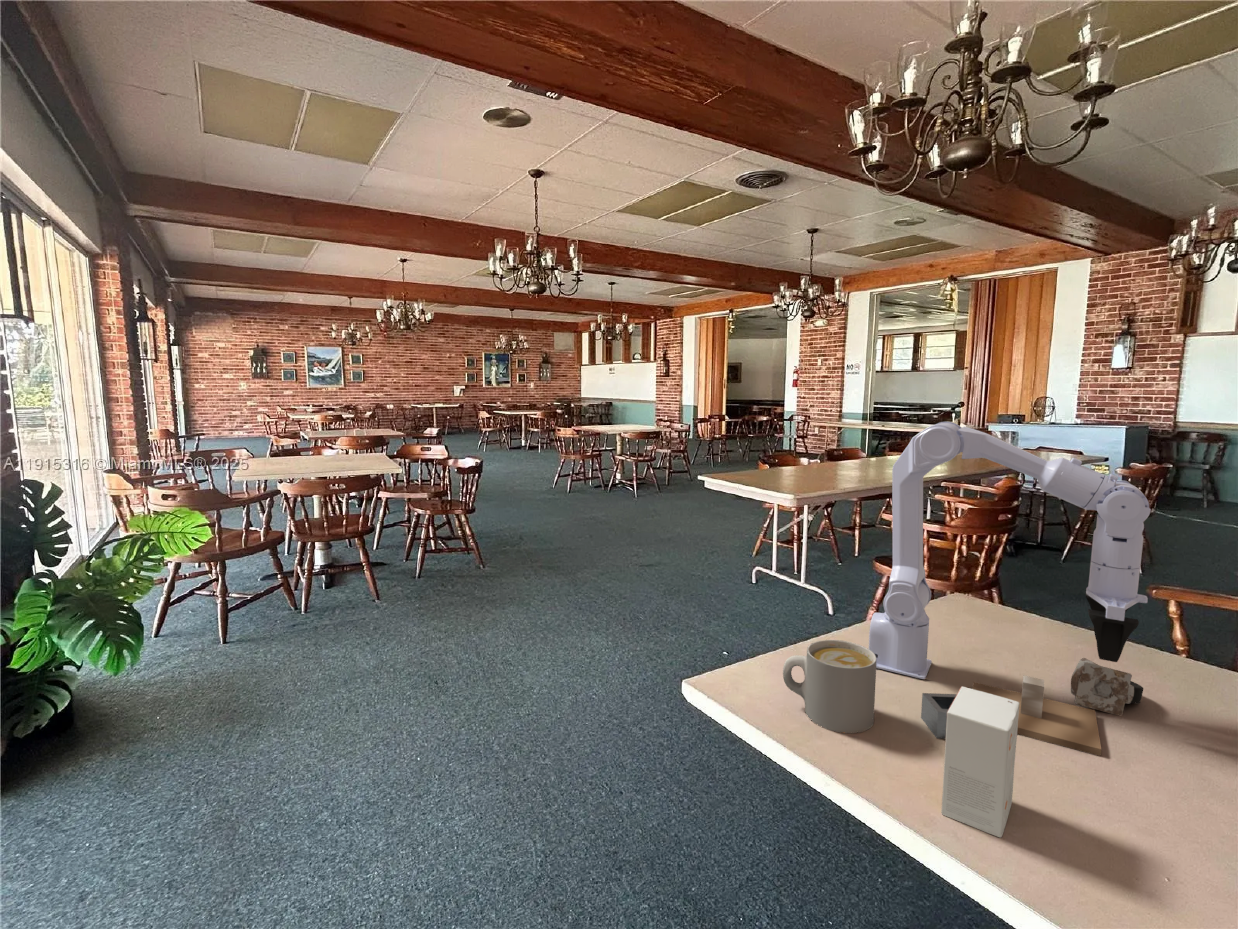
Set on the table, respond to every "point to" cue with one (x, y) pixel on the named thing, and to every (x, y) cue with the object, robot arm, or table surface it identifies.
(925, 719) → the square hub
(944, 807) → the small box
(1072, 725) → the post board
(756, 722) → the table surface
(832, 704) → the coffee mug
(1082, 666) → the caster wheel
